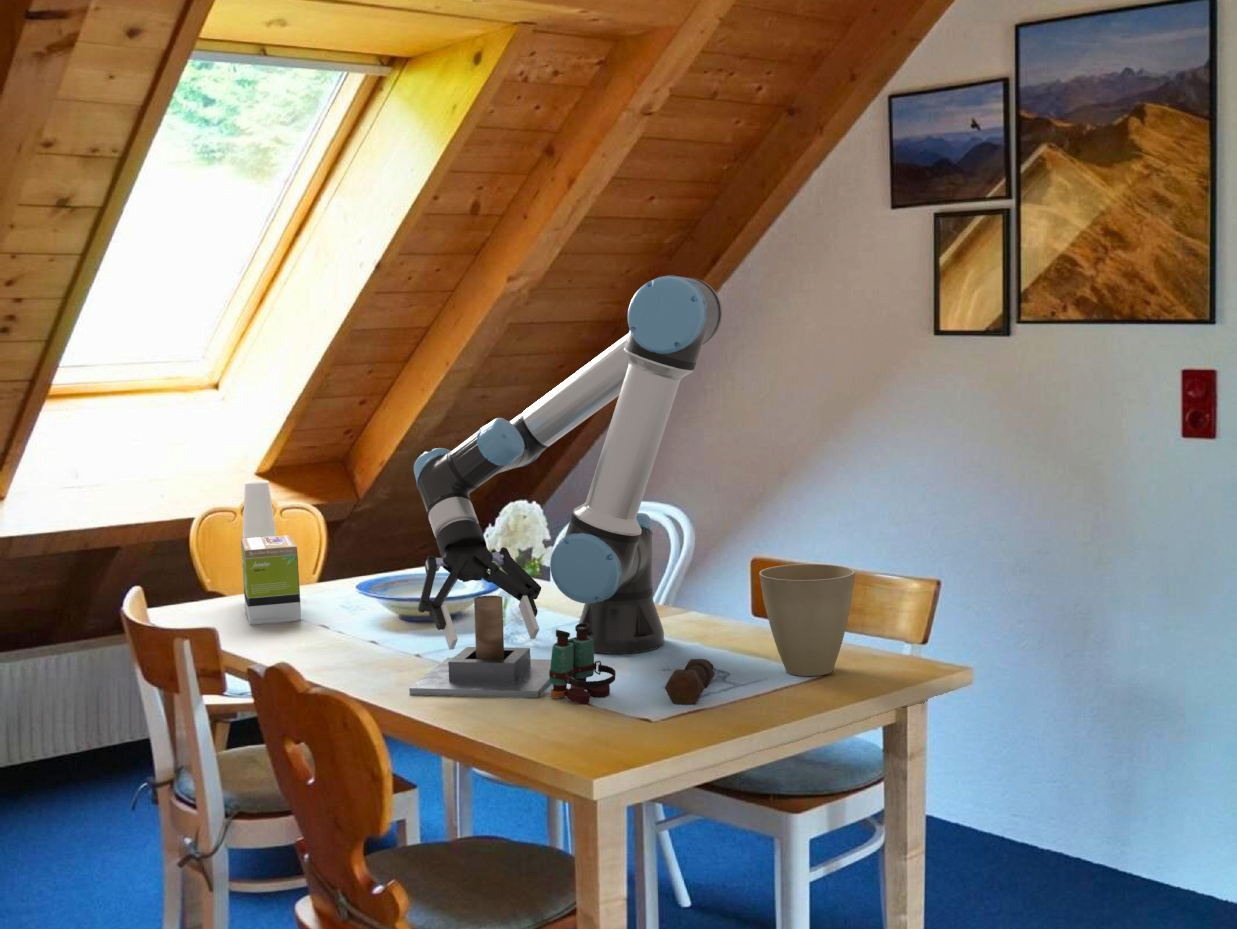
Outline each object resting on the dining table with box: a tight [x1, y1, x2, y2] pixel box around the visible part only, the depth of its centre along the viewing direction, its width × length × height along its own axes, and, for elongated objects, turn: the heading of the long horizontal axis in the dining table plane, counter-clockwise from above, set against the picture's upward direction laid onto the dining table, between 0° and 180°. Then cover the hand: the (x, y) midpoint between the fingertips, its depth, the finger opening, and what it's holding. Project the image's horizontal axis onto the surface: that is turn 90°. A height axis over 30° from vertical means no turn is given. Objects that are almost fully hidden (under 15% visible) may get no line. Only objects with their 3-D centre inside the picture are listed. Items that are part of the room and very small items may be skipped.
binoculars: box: [549, 623, 616, 705], centre depth 220 cm, size 9×10×10 cm
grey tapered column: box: [242, 480, 277, 539], centre depth 304 cm, size 7×7×24 cm
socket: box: [408, 646, 552, 699], centre depth 232 cm, size 20×20×4 cm
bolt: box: [664, 658, 716, 706], centre depth 222 cm, size 6×5×15 cm
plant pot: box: [758, 563, 856, 677], centre depth 232 cm, size 15×15×16 cm
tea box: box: [240, 534, 302, 626], centre depth 285 cm, size 15×10×15 cm
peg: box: [473, 595, 505, 660], centre depth 231 cm, size 4×4×12 cm
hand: (494, 639), depth 229 cm, fingers open, 13 cm apart
